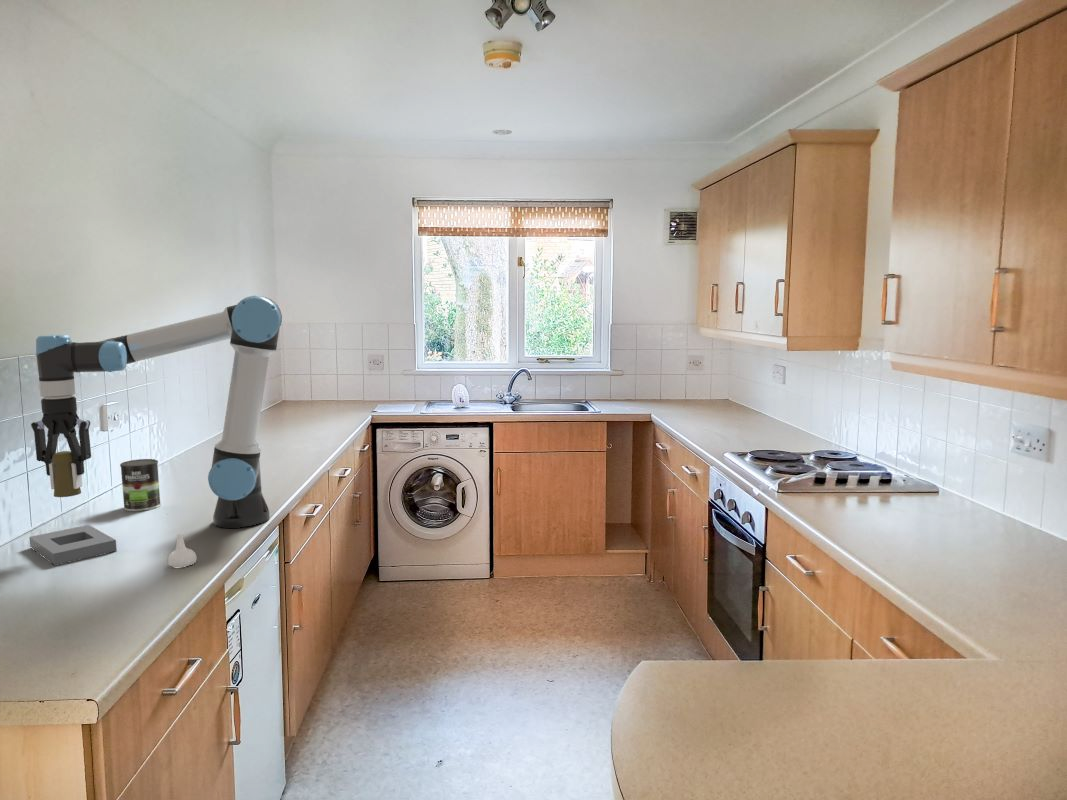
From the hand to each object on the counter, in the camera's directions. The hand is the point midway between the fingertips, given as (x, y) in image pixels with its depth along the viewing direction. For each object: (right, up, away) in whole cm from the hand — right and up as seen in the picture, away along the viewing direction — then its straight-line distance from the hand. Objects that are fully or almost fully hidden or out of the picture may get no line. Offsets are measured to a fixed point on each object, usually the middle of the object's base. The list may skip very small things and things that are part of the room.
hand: (67, 487), depth 197 cm
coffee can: (-2, -11, +42) cm, 44 cm away
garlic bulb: (+34, -18, -10) cm, 40 cm away
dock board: (0, -16, +2) cm, 16 cm away
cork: (0, -2, 0) cm, 2 cm away
